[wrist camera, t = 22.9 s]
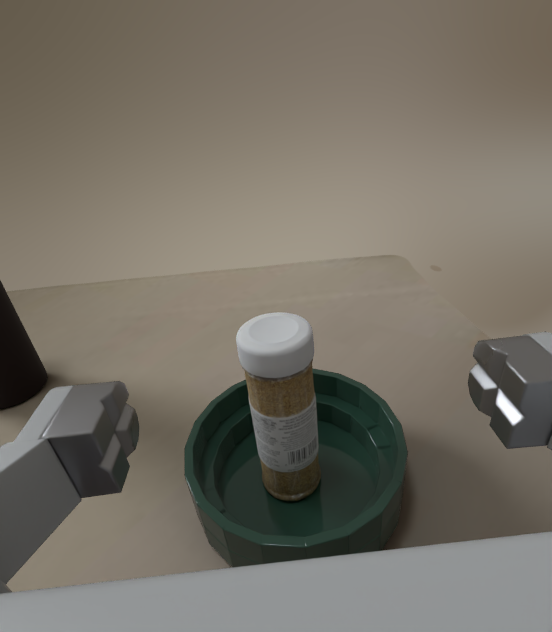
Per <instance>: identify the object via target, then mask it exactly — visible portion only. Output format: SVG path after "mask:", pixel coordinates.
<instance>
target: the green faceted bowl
mask: <svg viewBox="0 0 552 632" xmlns="http://www.w3.org/2000/svg"><path fill="white" fill-rule="evenodd" d="M312 372H313V384H314V392H315V396H316V410H317V427H318V445H319V449H318V463H319V466H320V470H321V478H320V481H319V484H318V487H317V488H316V489H315V490H314V491H313V493H312V494H310V495H309V496H307V497H306V498H304V499H301V500H298V501H284V500H279V499H277V498H274V497H273V496H272V495H271V494H270V493H269V492H268V491H267V490H266V488H265V487H264V484H263V481H262V466H261V461H260V457H259V454H258V449H257V443H256V437H255V432H254V426H253V421H252V415H251V410H250V404H249V393H248V388H247V383H246V380H244V381H242V382H239V383H237V384H235V385H233V386H231V387H230V388H229V389H227V390H226V391H225V392H223V393H222V394H221V395H219V396H218V397H216V398H215V399H214V400H212V401H211V402H210V404H209V405H208V406H207V407H206V409H205V410H204V411H203V412H202V414H201V415H200V416H199V417H198V419H197V420H196V421H195V423H194V425H193V428H192V430H191V433H190V435H189V438H188V441H187V443H186V446H185V479H186V482H187V485H188V488H189V491H190V494H191V497H192V500H193V503H194V506H195V509H196V512H197V515H198V517H199V520H200V522H201V525H202V527H203V529H204V532H205V534H206V536H207V539H208V541H209V544H210V545H211V546H212V547H213V548H214V549H215V550H216V551H217V552H218V553H219V554H220V555H221V556H222V557H223V558H224V559H225V560H226V561H227V562H228V563H229V564H230V565H231V566H232V567H242V566H251V565H260V564H269V563H277V562H286V561H295V560H304V559H313V558H322V557H331V556H339V555H348V554H357V553H366V552H375V551H382V549H383V548H384V546H385V544H386V543H387V541H388V539H389V538H390V536H391V535H392V533H393V531H394V530H395V528H396V527H397V524H398V520H399V514H400V508H401V503H402V497H403V490H404V481H405V472H406V464H407V455H408V452H407V447H406V443H405V438H404V434H403V430H402V426H401V424H400V422H399V421H398V419H397V418H396V416H395V415H394V413H393V412H392V410H391V409H390V407H389V406H388V404H387V403H386V401H384V400H383V399H382V398H381V397H379V396H378V395H377V394H376V393H374V392H373V391H372V390H371V389H369V388H368V387H367V386H366V385H364V384H362V383H359V382H357V381H355V380H353V379H350V378H348V377H346V376H344V375H341V374H339V373H333V372H328V371H323V370H318V369H312Z"/></svg>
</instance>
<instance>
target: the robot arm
mask: <svg viewBox="0 0 552 632" xmlns="http://www.w3.org/2000/svg"><path fill="white" fill-rule="evenodd" d="M473 357H474V358H475V359H476V361H477V362H478V363H477V364H476V365H475V366H474V367H473V368H472V369H471V370H470V373H469V379H468V386H469V392H470V396H471V398H472V400H473V402H474V404H475V405H476V407H477V408H478V410H479V411H481V412H483V413H484V414H486V415H488V416H490V417H491V422H490V426H491V428H492V429H493V430H494V432H495V433H496V435H497V436H498V437H499V439H500V440H501V441H502V443H503V444H504V445H505V447H506V448H507V449H511V448H522V447H534V446H546V445H548V446H547V448H549V449H550V450H552V333H549V332H540V333H532V334H525V335H522V336H516V337H507V338H498V339H490V340H481V341H478V342H477V344H476V345H475V348H474V352H473ZM128 396H129V393H128V391H127V388H126V386H125V384H124V383H122V382H120V381H114V382H103V383H92V384H82V385H76V386H75V385H72V386H63V387H55V388H53V389H51V390H49V392H48V393H47V394H46V396H45V397H44V399H43V400H42V402H41V403H40V405H39V406H38V407H37V409H36V410H35V412H34V413H33V415H32V416H31V418H30V419H29V420H28V422H27V423H26V425H25V426H24V428H23V429H22V431H21V432H20V433H19V435H18V436H17V438H16V439H15V441H14V442H11V443H5V444H4V445H2V446H1V447H0V632H552V531H551V532H542V533H533V534H525V535H516V536H507V537H498V538H489V539H480V540H472V541H463V542H454V543H445V544H436V545H427V546H419V547H410V548H401V549H392V550H383V551H375V552H366V553H357V554H348V555H339V556H331V557H322V558H313V559H304V560H295V561H286V562H277V563H269V564H260V565H251V566H242V567H233V568H224V569H215V570H206V571H197V572H188V573H179V574H170V575H161V576H152V577H143V578H134V579H126V580H117V581H108V582H99V583H90V584H81V585H72V586H64V587H55V588H46V589H37V590H28V591H19V592H12V591H11V590H10V589H9V588H8V587H7V586H6V584H7V582H8V581H9V580H10V579H11V578H12V577H13V576H14V575H15V574H16V572H17V571H18V570H19V569H20V568H21V567H22V566H23V565H24V564H25V562H26V561H27V560H28V559H29V558H30V557H31V556H32V555H33V554H34V553H35V551H36V550H37V549H38V548H39V547H40V546H41V545H42V544H43V543H44V541H45V540H46V539H47V538H48V537H49V536H50V535H51V534H52V533H53V531H54V530H55V529H56V528H57V527H58V526H59V525H60V524H61V523H62V521H63V520H64V519H65V518H66V517H67V516H68V515H69V514H70V513H71V512H72V510H73V509H74V508H75V507H76V506H77V505H78V504H79V503H80V502H81V500H82V499H81V498H85V497H92V496H99V495H106V494H113V493H120V492H121V491H122V488H123V485H124V482H125V479H126V476H127V473H128V470H129V467H130V465H129V463H128V461H127V457H128V456H129V455H130V454H131V453H132V452H133V451H134V450H135V449H136V445H137V442H138V437H139V422H138V417H137V414H136V411H135V409H134V408H133V407H131V406H130V405H128V404H127V403H126V401H127V399H128Z"/></svg>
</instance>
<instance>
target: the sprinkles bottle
mask: <svg viewBox="0 0 552 632" xmlns="http://www.w3.org/2000/svg"><path fill="white" fill-rule="evenodd" d="M236 343H237V349H238V355H239V360H240V364H241V365H242V367H243V369H244V371H245V377H246V383H247V388H248V393H249V404H250V410H251V415H252V421H253V426H254V432H255V437H256V443H257V449H258V454H259V457H260V461H261V466H262V481H263V484H264V487H265V488H266V490H267V491H268V492H269V493H270V494H271V495H272V496H273V497H274V498H277V499H279V500H284V501H298V500H301V499H304V498H306V497H307V496H309V495H310V494H312V493H313V491H314V490H315V489H316V488H317V487H318V484H319V481H320V478H321V470H320V466H319V463H318V449H319V445H318V427H317V410H316V396H315V392H314V384H313V372H312V361H313V356H314V341H313V332H312V327H311V325H310V324H309V323H308V321H306V320H305V319H304V318H302V317H300V316H298V315H295V314H291V313H283V312H275V313H268V314H263V315H260V316H257V317H254V318H252V319H251V320H249V321H247V322H246V323H245V324H243V325H242V326H241V328H240V329H239V331H238V333H237V336H236Z"/></svg>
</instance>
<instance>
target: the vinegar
mask: <svg viewBox="0 0 552 632" xmlns="http://www.w3.org/2000/svg"><path fill="white" fill-rule="evenodd" d="M47 378H48V377H47V373H46V370H45V368H44V366H43V364H42V362H41V360H40V358H39V356H38V354H37V352H36V350H35V348H34V346H33V344H32V342H31V340H30V338H29V336H28V334H27V332H26V330H25V328H24V326H23V324H22V322H21V320H20V318H19V316H18V315H17V313H16V311H15V309H14V307H13V305H12V303H11V301H10V299H9V297H8V295H7V293H6V291H5V289H4V287H3V285H2V283H1V281H0V409H3V408H7V407H11V406H14V405H16V404H19V403H21V402H23V401H25V400H27V399H29V398H30V397H32V396H33V395H35V394H36V393H37V392H38V391H40V389H41V388H42V387H43V386H44V385H45V383H46V380H47Z"/></svg>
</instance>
